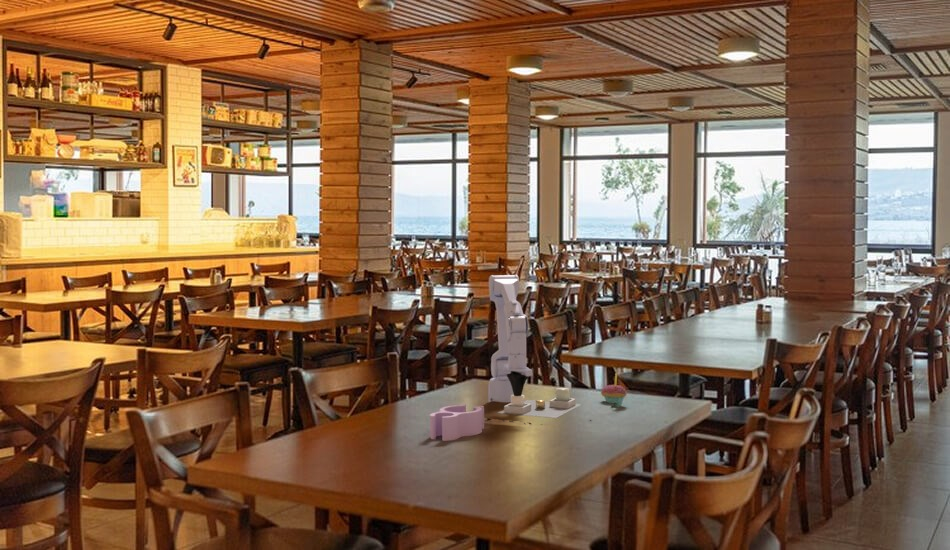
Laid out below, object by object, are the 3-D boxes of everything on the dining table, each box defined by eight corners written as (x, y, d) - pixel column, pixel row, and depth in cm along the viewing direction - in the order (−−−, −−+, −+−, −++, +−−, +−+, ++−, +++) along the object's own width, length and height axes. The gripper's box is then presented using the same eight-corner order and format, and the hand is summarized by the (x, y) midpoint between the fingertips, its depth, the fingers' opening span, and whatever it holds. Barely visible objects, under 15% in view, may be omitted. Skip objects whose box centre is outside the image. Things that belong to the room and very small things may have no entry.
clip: (456, 443, 281) (455, 418, 281) (419, 438, 288) (419, 414, 287) (491, 429, 298) (491, 406, 298) (456, 425, 305) (456, 403, 304)
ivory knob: (508, 407, 316) (508, 396, 316) (514, 405, 320) (514, 393, 320) (521, 408, 314) (521, 397, 314) (526, 406, 318) (526, 394, 318)
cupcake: (631, 407, 330) (631, 371, 330) (608, 409, 327) (608, 373, 326) (618, 402, 338) (618, 367, 338) (596, 404, 335) (596, 369, 334)
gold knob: (534, 409, 321) (534, 401, 321) (537, 407, 324) (537, 399, 323) (543, 409, 320) (543, 401, 319) (546, 408, 322) (546, 400, 322)
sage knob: (553, 400, 324) (553, 389, 324) (558, 398, 328) (558, 387, 328) (566, 401, 323) (566, 390, 322) (571, 399, 327) (571, 388, 326)
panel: (497, 417, 315) (497, 406, 315) (526, 404, 337) (526, 394, 337) (556, 422, 306) (556, 411, 306) (582, 408, 328) (582, 398, 328)
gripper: (495, 351, 321) (495, 393, 321) (518, 357, 308) (519, 400, 309) (513, 350, 324) (513, 391, 325) (537, 355, 311) (538, 398, 312)
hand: (517, 395), depth 317 cm, fingers closed, pressing on ivory knob
